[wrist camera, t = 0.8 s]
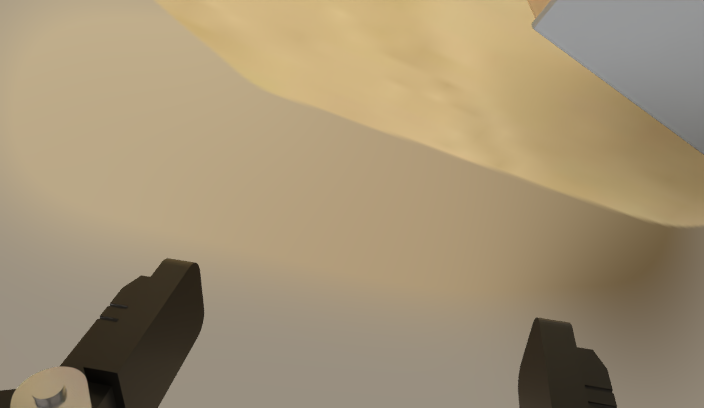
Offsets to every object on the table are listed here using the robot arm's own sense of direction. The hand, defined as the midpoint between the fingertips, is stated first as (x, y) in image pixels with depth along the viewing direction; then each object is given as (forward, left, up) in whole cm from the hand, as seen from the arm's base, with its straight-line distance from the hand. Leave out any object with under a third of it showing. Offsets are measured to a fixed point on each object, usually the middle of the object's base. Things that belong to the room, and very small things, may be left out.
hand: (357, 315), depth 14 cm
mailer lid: (-15, +12, -19) cm, 28 cm away
